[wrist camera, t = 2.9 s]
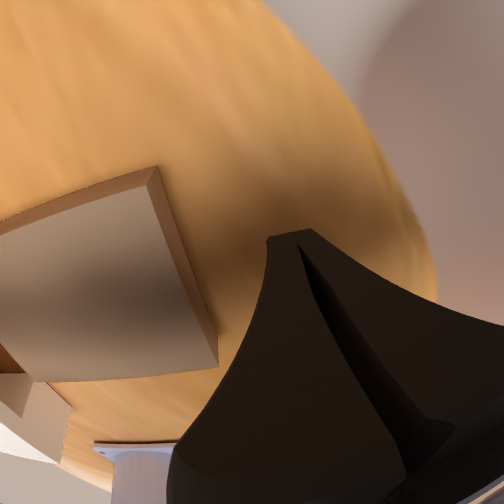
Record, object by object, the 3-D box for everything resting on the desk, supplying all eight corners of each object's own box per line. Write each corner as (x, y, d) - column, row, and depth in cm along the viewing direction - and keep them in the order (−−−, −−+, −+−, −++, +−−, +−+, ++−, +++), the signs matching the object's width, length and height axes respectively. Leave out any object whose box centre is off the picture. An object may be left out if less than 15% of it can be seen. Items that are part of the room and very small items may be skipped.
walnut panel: (217, 327, 12) (218, 366, 11) (47, 351, 13) (35, 382, 11) (159, 160, 9) (146, 185, 7) (-31, 233, 9) (-56, 261, 7)
